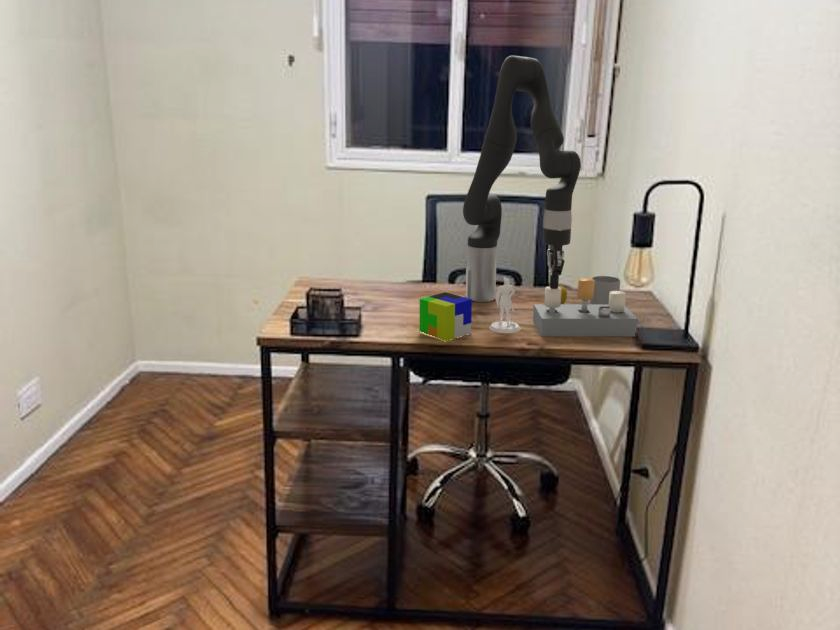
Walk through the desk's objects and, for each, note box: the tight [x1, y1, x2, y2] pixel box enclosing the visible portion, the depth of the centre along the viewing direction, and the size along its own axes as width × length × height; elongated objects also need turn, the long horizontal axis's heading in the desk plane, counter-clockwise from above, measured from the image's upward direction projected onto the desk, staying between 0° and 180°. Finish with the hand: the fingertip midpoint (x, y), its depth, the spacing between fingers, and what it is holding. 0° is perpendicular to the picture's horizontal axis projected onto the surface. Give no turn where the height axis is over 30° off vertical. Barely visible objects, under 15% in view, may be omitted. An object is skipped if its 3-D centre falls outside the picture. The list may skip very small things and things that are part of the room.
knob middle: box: [576, 277, 595, 312], centre depth 210 cm, size 4×4×9 cm
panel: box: [532, 303, 638, 337], centre depth 212 cm, size 26×14×5 cm, turn 91°
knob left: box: [543, 286, 561, 313], centre depth 210 cm, size 4×4×9 cm
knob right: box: [609, 291, 627, 313], centre depth 211 cm, size 4×4×9 cm
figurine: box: [488, 276, 521, 334], centre depth 210 cm, size 9×9×15 cm
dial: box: [598, 306, 611, 318], centre depth 206 cm, size 3×3×3 cm
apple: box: [558, 284, 568, 304], centre depth 230 cm, size 6×6×8 cm
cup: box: [589, 275, 621, 304], centre depth 228 cm, size 8×8×10 cm
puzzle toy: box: [419, 291, 473, 341], centre depth 206 cm, size 10×10×10 cm
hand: (553, 288), depth 209 cm, fingers closed
